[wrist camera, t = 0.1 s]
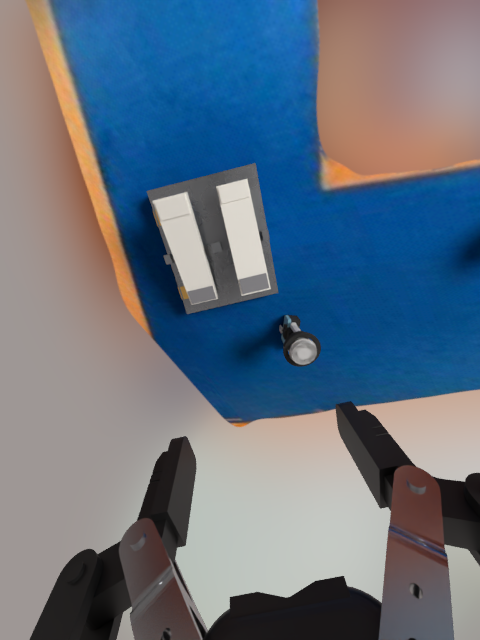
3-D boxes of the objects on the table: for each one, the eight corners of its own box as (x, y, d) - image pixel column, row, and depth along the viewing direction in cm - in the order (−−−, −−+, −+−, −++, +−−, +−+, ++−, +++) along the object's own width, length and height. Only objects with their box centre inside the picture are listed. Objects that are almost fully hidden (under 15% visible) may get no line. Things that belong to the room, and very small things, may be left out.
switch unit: (151, 194, 34) (133, 185, 27) (253, 168, 33) (259, 152, 27) (188, 309, 40) (180, 323, 34) (275, 289, 39) (284, 299, 33)
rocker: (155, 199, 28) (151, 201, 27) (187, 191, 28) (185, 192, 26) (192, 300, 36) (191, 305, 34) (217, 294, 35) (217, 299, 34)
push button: (298, 347, 43) (317, 378, 34) (270, 346, 43) (281, 377, 34) (304, 314, 41) (326, 337, 32) (274, 312, 41) (288, 335, 31)
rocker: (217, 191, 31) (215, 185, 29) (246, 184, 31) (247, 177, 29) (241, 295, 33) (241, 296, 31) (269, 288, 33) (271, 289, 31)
